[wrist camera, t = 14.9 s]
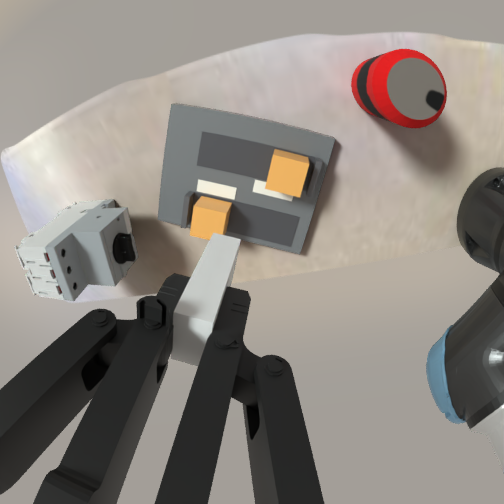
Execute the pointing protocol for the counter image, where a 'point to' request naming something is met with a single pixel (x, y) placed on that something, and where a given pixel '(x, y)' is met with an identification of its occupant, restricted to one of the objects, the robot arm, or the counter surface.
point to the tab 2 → (287, 173)
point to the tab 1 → (210, 217)
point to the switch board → (240, 173)
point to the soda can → (400, 88)
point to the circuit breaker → (79, 250)
